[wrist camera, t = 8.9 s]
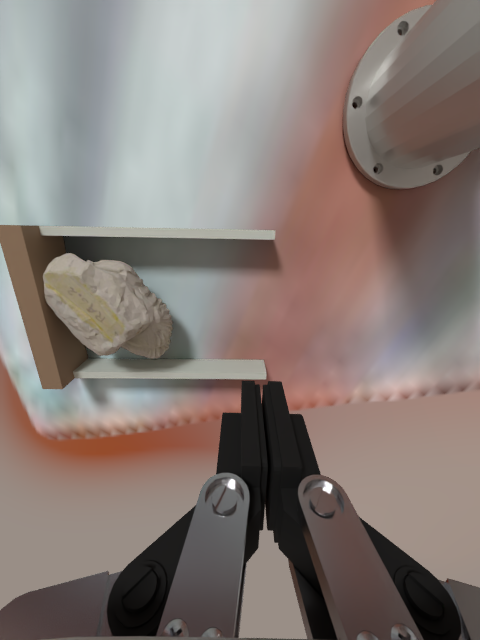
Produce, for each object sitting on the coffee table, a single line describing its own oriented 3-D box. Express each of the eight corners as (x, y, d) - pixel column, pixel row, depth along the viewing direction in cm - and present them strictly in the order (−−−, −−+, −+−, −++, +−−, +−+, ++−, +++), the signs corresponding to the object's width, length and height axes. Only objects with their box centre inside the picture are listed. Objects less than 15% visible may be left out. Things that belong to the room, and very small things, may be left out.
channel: (270, 230, 26) (278, 230, 21) (263, 365, 31) (268, 390, 26) (40, 225, 25) (-5, 225, 20) (72, 364, 30) (42, 388, 26)
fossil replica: (163, 359, 31) (195, 285, 29) (148, 400, 23) (190, 302, 21) (57, 322, 28) (84, 236, 26) (-1, 354, 20) (30, 235, 18)
